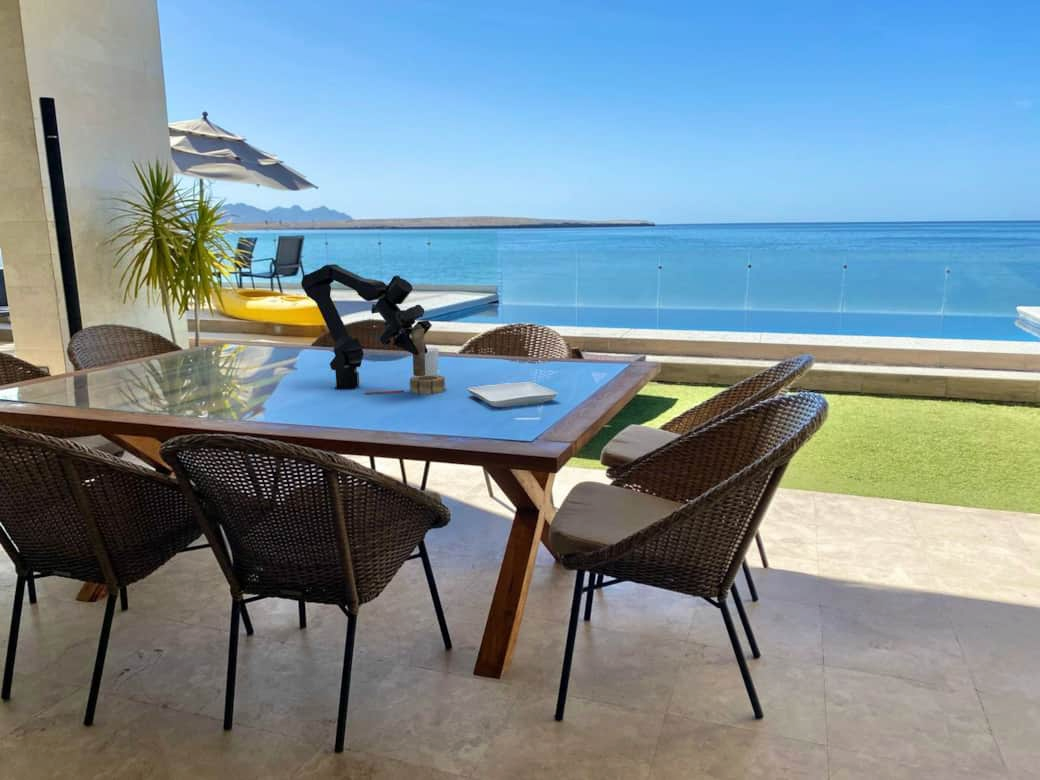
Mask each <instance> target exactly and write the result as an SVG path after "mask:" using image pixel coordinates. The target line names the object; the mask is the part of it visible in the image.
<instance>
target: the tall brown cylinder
mask: <svg viewBox="0 0 1040 780" xmlns="http://www.w3.org/2000/svg"><path fill="white" fill-rule="evenodd" d="M413 327H414V328H412V342H413V344H414V345H415V347H416V348H417V350H418V352H419V355H417V356H416V355H414V354H412V369H413V370H412V373H413V377H414V376H424V375H426V374H425V345H426V343H425V344H424V342H425V335H424V328H422V326H421V325H420V324H417V323H415V324H414V325H413Z"/></svg>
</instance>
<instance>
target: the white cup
mask: <svg viewBox="0 0 1040 780" xmlns="http://www.w3.org/2000/svg"><path fill="white" fill-rule="evenodd" d="M426 348H427V351H428V352H427V353H426V354H425V374H426V375H439V372H438V371H439V348H437V347H426Z"/></svg>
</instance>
